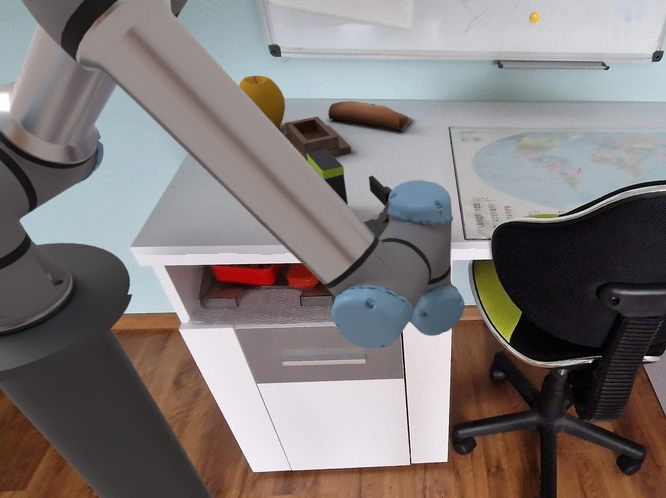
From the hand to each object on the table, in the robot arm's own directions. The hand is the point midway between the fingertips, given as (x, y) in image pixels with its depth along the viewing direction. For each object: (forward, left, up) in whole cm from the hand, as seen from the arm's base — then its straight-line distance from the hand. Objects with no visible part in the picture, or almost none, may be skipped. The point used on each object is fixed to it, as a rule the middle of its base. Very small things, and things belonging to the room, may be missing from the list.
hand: (334, 192), depth 92 cm
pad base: (+19, +24, -6) cm, 31 cm away
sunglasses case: (+37, +23, -6) cm, 44 cm away
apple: (+19, +38, -6) cm, 43 cm away
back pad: (+1, +2, -6) cm, 7 cm away
